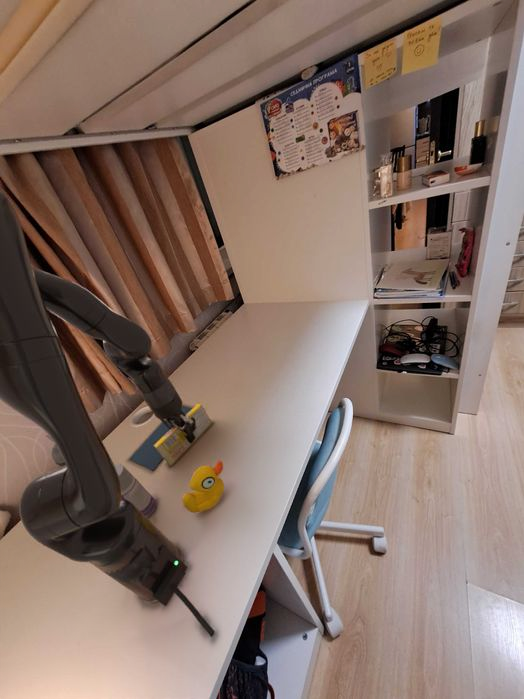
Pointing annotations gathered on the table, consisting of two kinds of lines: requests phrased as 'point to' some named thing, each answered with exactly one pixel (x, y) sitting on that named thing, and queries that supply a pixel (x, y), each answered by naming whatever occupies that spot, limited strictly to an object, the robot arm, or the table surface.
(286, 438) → the table surface
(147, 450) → the mat
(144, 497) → the container
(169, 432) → the candy box
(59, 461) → the beverage cup
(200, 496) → the duckling
